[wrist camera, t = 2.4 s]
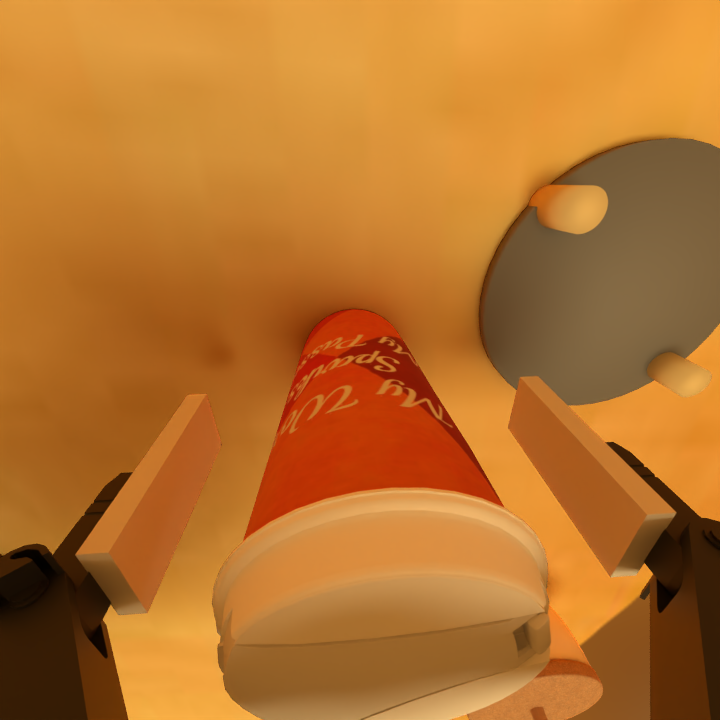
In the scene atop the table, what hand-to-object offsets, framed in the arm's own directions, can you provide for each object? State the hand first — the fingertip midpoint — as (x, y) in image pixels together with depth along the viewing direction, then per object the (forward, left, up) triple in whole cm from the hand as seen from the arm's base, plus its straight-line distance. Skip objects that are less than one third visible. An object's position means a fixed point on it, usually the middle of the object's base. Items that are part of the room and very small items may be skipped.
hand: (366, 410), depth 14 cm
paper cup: (0, 0, -6) cm, 6 cm away
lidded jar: (+13, -28, -6) cm, 31 cm away
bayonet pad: (+14, +3, -5) cm, 15 cm away
